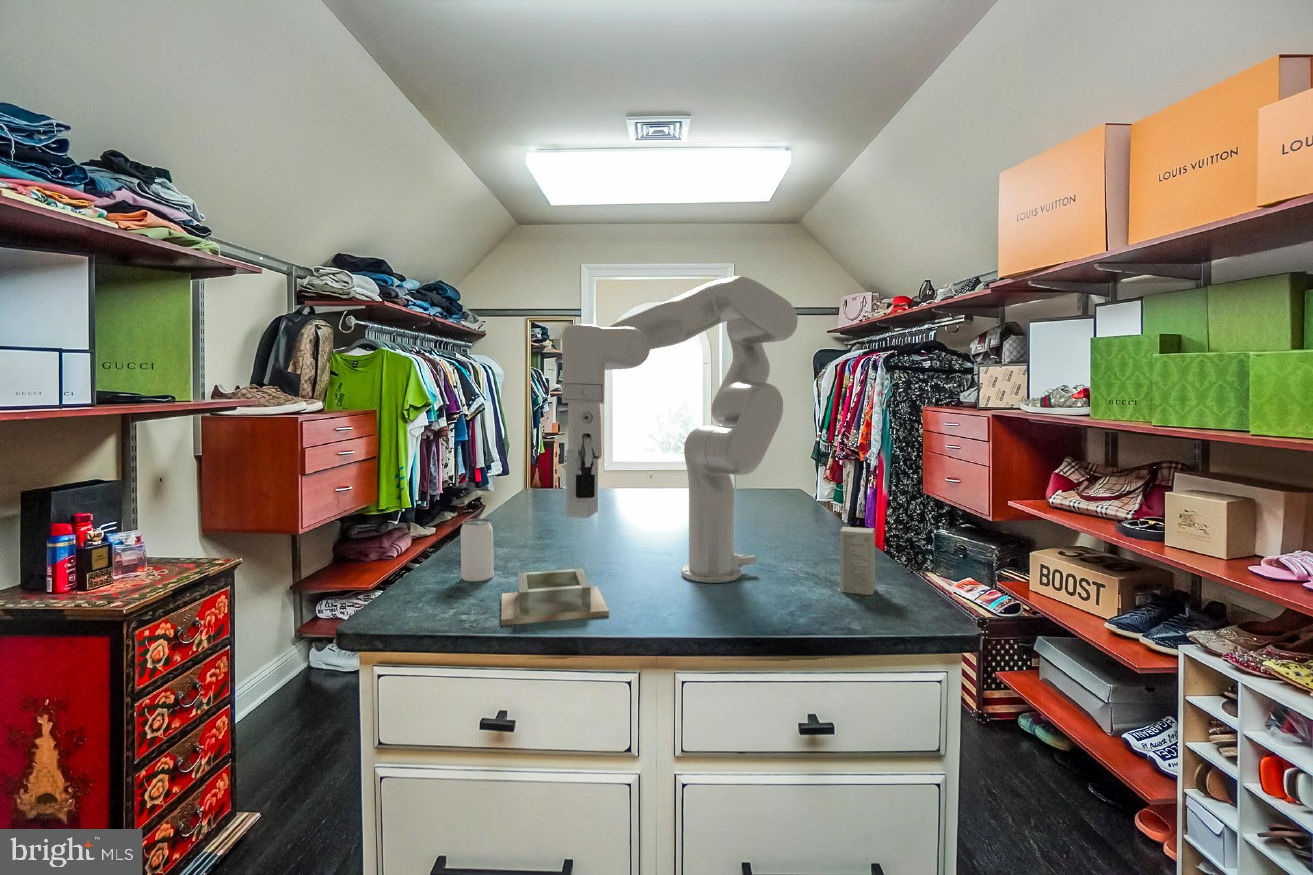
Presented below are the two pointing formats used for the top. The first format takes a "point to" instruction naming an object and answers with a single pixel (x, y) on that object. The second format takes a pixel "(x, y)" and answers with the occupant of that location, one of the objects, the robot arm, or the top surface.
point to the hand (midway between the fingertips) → (581, 493)
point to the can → (476, 550)
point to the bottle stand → (552, 598)
